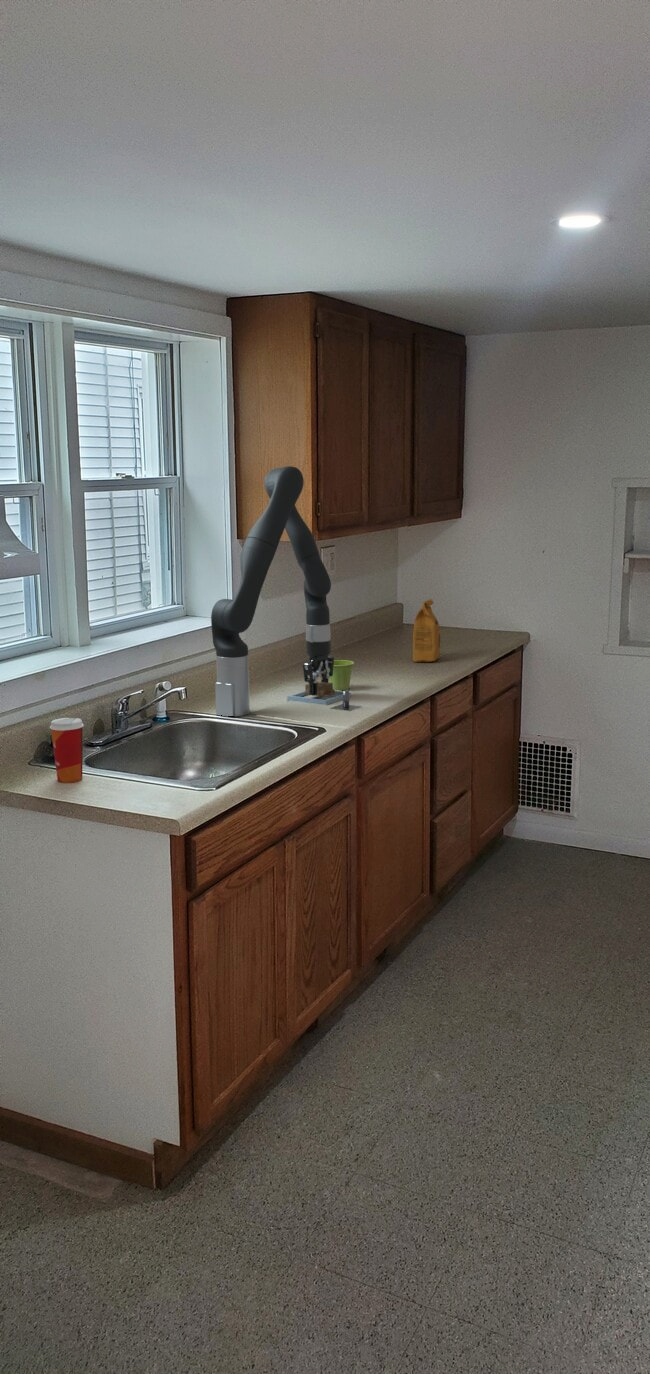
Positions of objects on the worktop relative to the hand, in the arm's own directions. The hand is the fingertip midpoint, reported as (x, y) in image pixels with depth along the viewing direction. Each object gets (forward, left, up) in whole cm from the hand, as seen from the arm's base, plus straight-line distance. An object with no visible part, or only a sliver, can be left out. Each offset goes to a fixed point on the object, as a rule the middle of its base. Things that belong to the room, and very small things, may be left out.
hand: (319, 693), depth 336 cm
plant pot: (+18, +4, -3) cm, 19 cm away
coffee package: (+78, +4, -3) cm, 78 cm away
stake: (-7, -14, -2) cm, 16 cm away
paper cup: (-101, +3, -3) cm, 101 cm away
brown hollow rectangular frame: (0, 0, 0) cm, 0 cm away
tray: (0, 0, -2) cm, 2 cm away
